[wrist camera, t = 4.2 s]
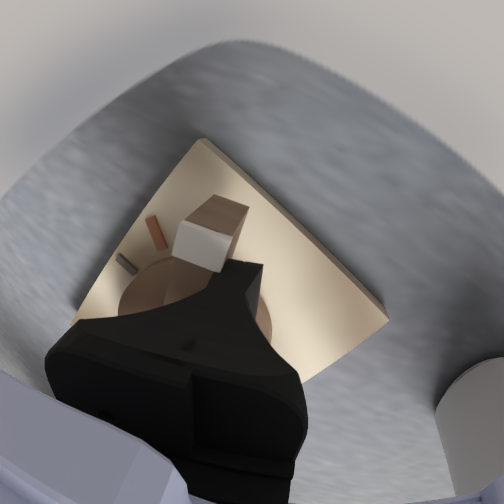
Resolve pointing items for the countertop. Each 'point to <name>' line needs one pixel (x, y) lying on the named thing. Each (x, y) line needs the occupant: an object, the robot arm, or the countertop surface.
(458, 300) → the countertop surface
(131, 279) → the dial plate
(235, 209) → the dial
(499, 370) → the can
